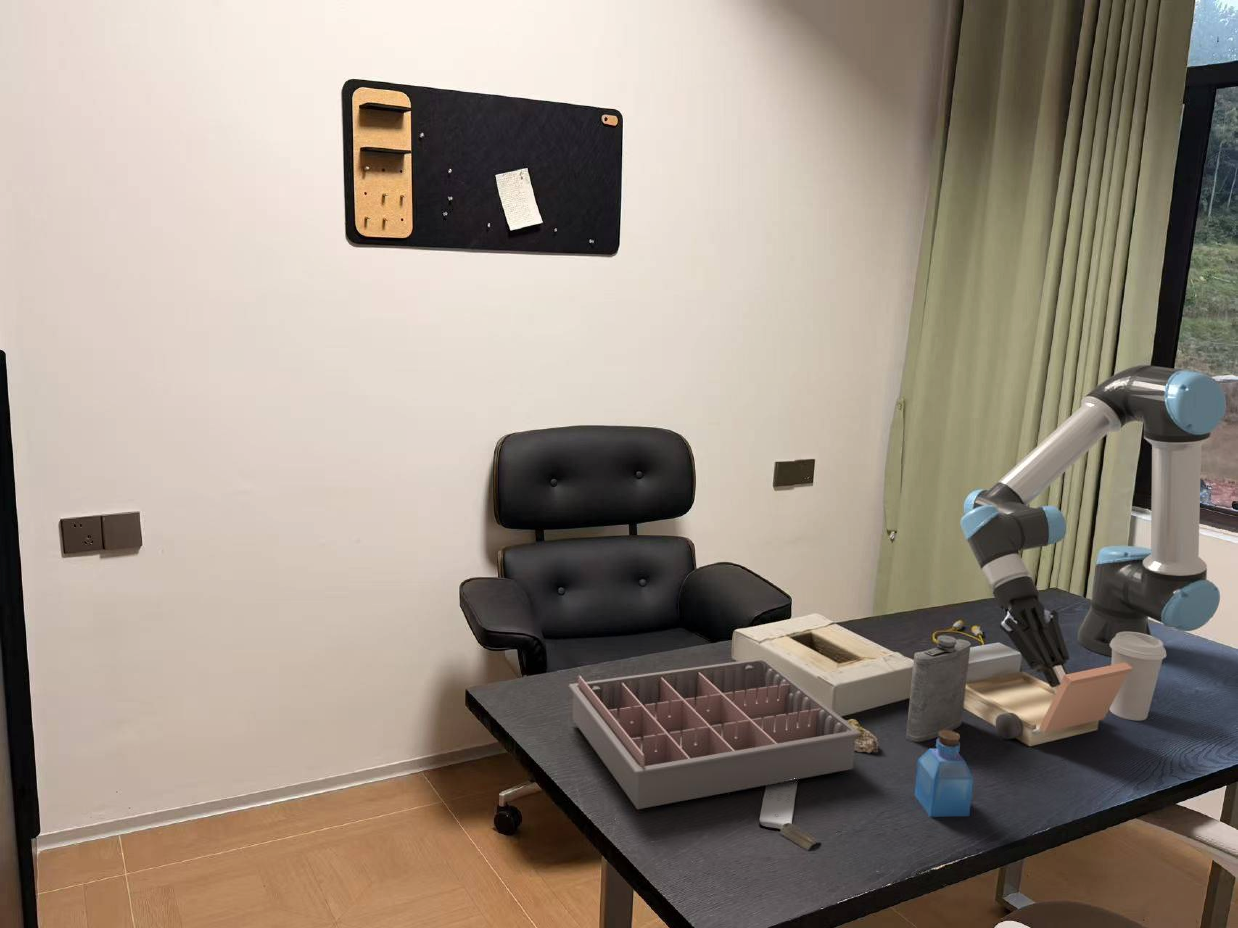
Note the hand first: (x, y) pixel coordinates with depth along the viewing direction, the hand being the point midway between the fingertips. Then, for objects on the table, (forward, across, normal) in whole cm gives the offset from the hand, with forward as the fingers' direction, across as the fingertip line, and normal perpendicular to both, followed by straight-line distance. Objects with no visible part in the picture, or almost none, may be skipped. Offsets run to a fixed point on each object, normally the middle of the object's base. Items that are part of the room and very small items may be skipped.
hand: (1069, 702), depth 173 cm
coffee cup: (+3, -21, -8) cm, 23 cm away
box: (-21, +25, -33) cm, 47 cm away
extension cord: (-25, -18, -38) cm, 48 cm away
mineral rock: (-4, +36, -15) cm, 40 cm away
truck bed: (-4, -1, -14) cm, 15 cm away
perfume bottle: (+11, +36, +1) cm, 38 cm away
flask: (-2, +20, -13) cm, 24 cm away
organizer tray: (-8, +62, -20) cm, 66 cm away
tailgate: (+3, -1, -3) cm, 4 cm away
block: (+11, +62, 0) cm, 63 cm away
